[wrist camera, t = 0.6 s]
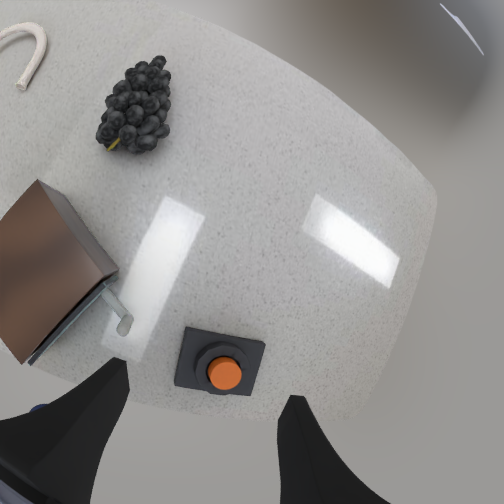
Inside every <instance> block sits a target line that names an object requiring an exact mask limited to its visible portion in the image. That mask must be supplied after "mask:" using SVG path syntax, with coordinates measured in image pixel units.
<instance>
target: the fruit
mask: <svg viewBox="0 0 504 504" xmlns="http://www.w3.org/2000/svg"><path fill="white" fill-rule="evenodd" d="M166 62H167V61H166V59H165V57H164V56H156V57H155V58H153V60H152V61H151V63H150V64H149V65H148V63H147V62H145V61H140V62H139V63H137V64H136V65H135V68H129V69H127V70H126V72H125V78H126V79H125V80H121V81H120V82H118V83H117V84H116V85H115V86H114V87H113V94H111V95H109V96H107V98H106V100H105V103H106V106H107V108H108V109H107V110H106V112H105V113H104V114H103V115H102V117H101V119H102V123H101V124H100V125H99V128H98V131H97V133H96V140H97V141H98V142H99V143H101V144H104V146H105V147H106V148H107V151H109V150H112V151H116V150H118V149H119V148H120V147H121V144H122V145H125V146H127V147H126V148H127V150H128V151H129V152H131V153H132V154H141V153H143V152H144V151H145V150H149V151H151V150H153V149H154V148H155V147H156V145H157V139H158V138H165V137H167V136H168V135H169V133H170V128H169V126H168V125H167V124H164V123H162V122H164V121H165V119H166V117H167V112H168V110H169V109H170V107H171V103H170V101H169V100H168V97H169V95H170V88H169V86H168V85H169V83H170V82H169V81H170V79H171V74H170V72H169V71H167V70H162V69H163V67H164V65H165V64H166ZM125 112H126V113H125ZM124 113H125V114H124ZM160 123H162V124H160Z"/></svg>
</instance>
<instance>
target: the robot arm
mask: <svg viewBox="0 0 504 504" xmlns="http://www.w3.org/2000/svg"><path fill="white" fill-rule="evenodd" d="M129 391H130V388H129V380H128V372H127V364H126V361H124V360H121V359H118V358H115V357H113V358H112V359H110V360H109V361H108V362H107V363H106V364H104V365H103V366H102V367H101V368H100V369H99V370H97V371H96V372H95V373H94V374H92V375H91V376H90V377H88V378H87V379H86V380H85V381H83V382H82V383H81V384H79V385H78V386H77V387H75V388H74V389H72V390H71V391H69V392H68V393H66V394H65V395H63V396H62V397H60V398H58V399H56V400H55V401H53V402H51V403H49V404H47V405H45V406H43V407H41V408H38V409H36V410H34V411H31V412H29V413H26V414H23V415H20V416H17V417H13V418H10V419H5V420H0V504H90V499H91V494H92V489H93V485H94V480H95V476H96V473H97V469H98V465H99V462H100V459H101V456H102V453H103V450H104V447H105V445H106V443H107V441H108V438H109V437H110V435H111V433H112V431H113V429H114V427H115V425H116V423H117V421H118V419H119V417H120V415H121V412H122V410H123V408H124V406H125V403H126V400H127V397H128V394H129ZM277 445H278V457H279V467H280V479H281V495H280V496H281V497H280V504H390V503H389V502H387V501H385V500H384V499H383V498H381V497H380V496H378V495H377V494H376V493H375V492H373V491H372V490H371V489H370V488H368V487H367V486H366V485H365V484H364V483H363V482H362V481H361V480H360V479H359V478H357V476H356V475H355V474H354V473H353V472H352V471H351V470H350V469H349V468H348V467H347V465H346V464H345V463H344V462H343V461H342V459H341V458H340V457H339V455H338V454H337V453H336V451H335V450H334V448H333V447H332V445H331V444H330V442H329V441H328V439H327V438H326V436H325V435H324V433H323V431H322V429H321V428H320V426H319V424H318V422H317V420H316V418H315V416H314V415H313V413H312V411H311V409H310V407H309V405H308V402H307V400H306V398H305V397H304V396H297V395H290V397H289V399H288V401H287V403H286V405H285V407H284V409H283V411H282V413H281V415H280V417H279V419H278V429H277Z"/></svg>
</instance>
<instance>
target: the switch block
mask: <svg viewBox="0 0 504 504" xmlns="http://www.w3.org/2000/svg"><path fill="white" fill-rule="evenodd" d="M265 345H266V344H265V343H264V342H262V341H257V340H251V339H245V338H240V337H234V336H229V335H224V334H219V333H214V332H209V331H204V330H199V329H195V328H190V327H186V329H185V333H184V338H183V342H182V347H181V351H180V356H179V360H178V365H177V369H176V374H175V379H174V385H175V386H179V387H185V388H190V389H197V390H203V391H207V392H209V393H210V394H216V395H227V394H235V395H245V396H251V393H252V389H253V386H254V383H255V379H256V376H257V373H258V369H259V366H260V363H261V359H262V356H263V352H264V349H265ZM219 357H229V358H231V359H233V360H234V361H235V362H236V364H237V365H238V366H239V368H240V370H241V374H242V375H241V380H240V382H239V383H238V384H237V385H236V386H235V387H233V388H231V389H227V390H222V389H219V388H217V387H215V386H214V385H213V384H212V382H211V380H210V378H209V375H208V367H209V365H210V363H211V362H212V361H213V360H215V359H217V358H219Z"/></svg>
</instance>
